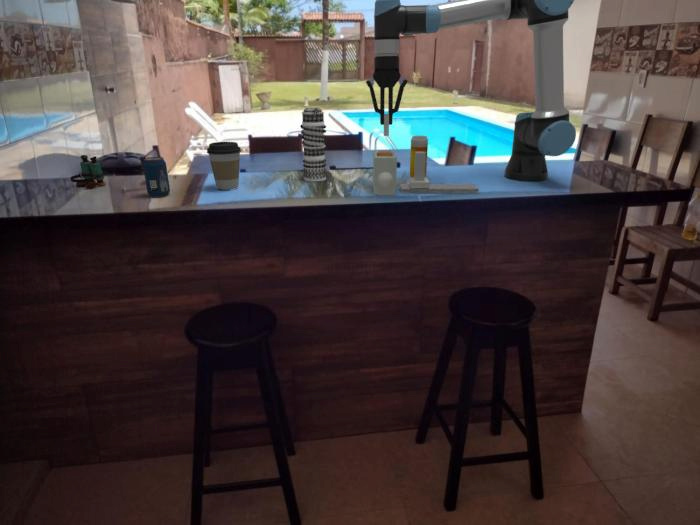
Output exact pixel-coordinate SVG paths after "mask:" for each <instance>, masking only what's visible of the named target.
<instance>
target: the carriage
mask: <svg viewBox="0 0 700 525" xmlns="http://www.w3.org/2000/svg"><path fill="white" fill-rule="evenodd" d="M425 157H426V153H425V152H415V171H414V178H411V177H408V184H409V185H410V187H411V188H429V186H430V184H431V182H430V180H429V179H428V177H425ZM424 177H425V178H424Z"/></svg>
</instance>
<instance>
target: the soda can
mask: <svg viewBox="0 0 700 525" xmlns="http://www.w3.org/2000/svg"><path fill="white" fill-rule="evenodd" d="M143 160H144V161H143V164H142V166H143V173H144V180H145V186H146V192H147V194H148V195H149V197H150V196H151V197H150V198H155V197H157V198H164V197H167V196H169V194H170V192H171V188H170V182H169V176H168V169H167V163H166V161H165V159H164V157H163V156H162V157H161V156H151V157H150V156H149V157H145V158H144V159H143Z"/></svg>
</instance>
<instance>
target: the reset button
mask: <svg viewBox="0 0 700 525" xmlns="http://www.w3.org/2000/svg"><path fill="white" fill-rule="evenodd" d="M377 152H378V156H391V152H392V151H391V150H380V149H379V150H378V151H377Z"/></svg>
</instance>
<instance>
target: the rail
mask: <svg viewBox="0 0 700 525" xmlns="http://www.w3.org/2000/svg"><path fill="white" fill-rule="evenodd" d="M399 191H400V194H401V193H410V194H479V187H478V186H477V185H475V183H430V186H429V188H411V187H410V185H409V183H399Z"/></svg>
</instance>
